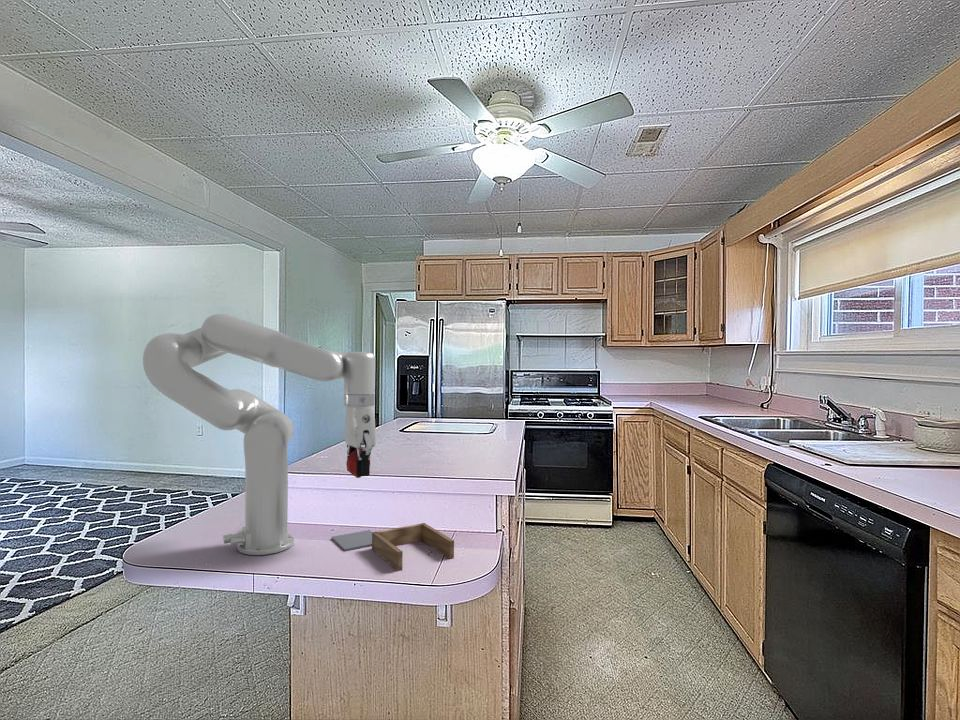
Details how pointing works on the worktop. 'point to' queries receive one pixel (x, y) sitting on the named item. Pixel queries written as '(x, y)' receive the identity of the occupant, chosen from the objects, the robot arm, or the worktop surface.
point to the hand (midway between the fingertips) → (358, 472)
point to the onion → (352, 462)
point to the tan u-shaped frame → (391, 538)
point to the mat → (354, 540)
